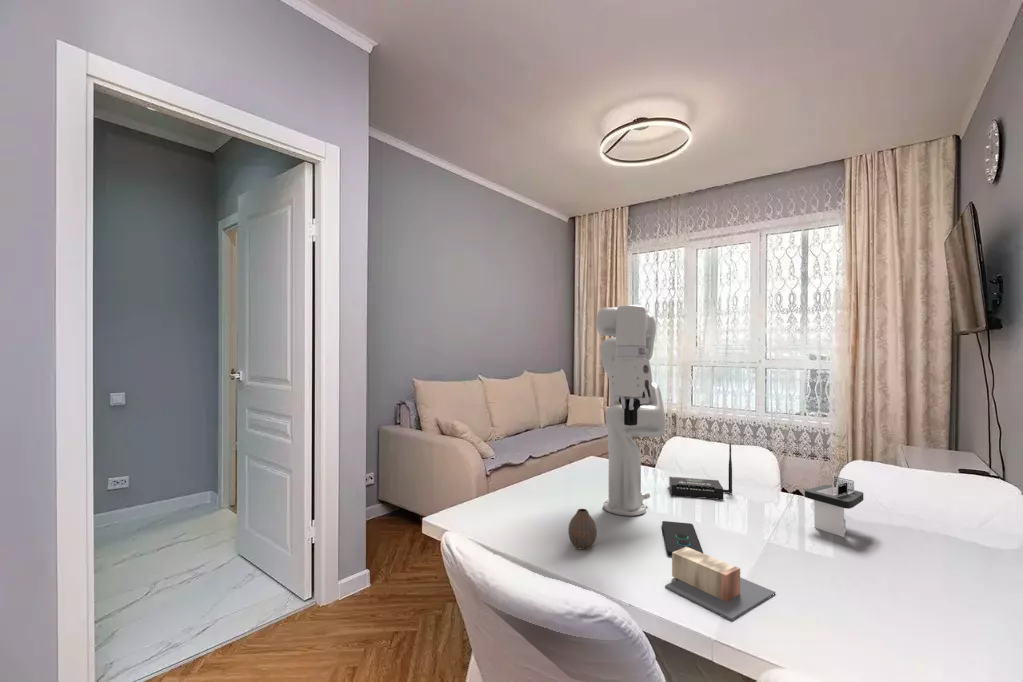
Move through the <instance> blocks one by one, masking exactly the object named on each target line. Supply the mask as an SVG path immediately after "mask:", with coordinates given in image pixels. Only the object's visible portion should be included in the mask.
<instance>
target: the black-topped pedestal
mask: <svg viewBox="0 0 1023 682" xmlns="http://www.w3.org/2000/svg"><path fill="white" fill-rule="evenodd" d="M804 498H807V499H808V500H809V499H810V500H813V502H814V504H813V505H814V507H813V508H814V509H813V513H814V514H813V515H814V518H813V519H814V523H813V524H814V528H815V529H818V530H821V531H823V532H826V533H827V532H828V533H830V534H832V535H833V534H834V535H836V536H839V537H843V538H845V536H846V535H845V534H846V526H847V525H846V519H845V510H846V509H849V510H850V509H853V508H854V507H856V506H857V505H859V504H860V503H861V502H863V501H864V492H863V491H858V490H855V480H854V479H853V480H851V479H846V478H843V477H837V476H835V475H832V484H824V485H820V486H816V487H815V486H814V487H811V488H807V489H804Z"/></svg>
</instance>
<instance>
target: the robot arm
mask: <svg viewBox="0 0 1023 682" xmlns="http://www.w3.org/2000/svg"><path fill="white" fill-rule="evenodd" d="M596 315H597V316H596V329H597V332H598V334H599V336H605V337H608V338H606V339H605V340H603V341H602V343H601V345H600V360H601V364H602V366H603V369H604V371H605V373H606V375H607V377H608V387H609V388H608V391H609V400H610V401H609V402H610V404H611V406H610V407H608V408H607V410H606V412H605V425H606V429H607V442H608V444H607V445H608V499H607V500H605V501H603V503H602V504H603V505H602V506H603V509H604V510H605V511H607V512H608V513H610V514H614V515H618V516H626V517H627V516H628V517H629V516H630V517H633V516H640V515H643V514H645V513H646V512H647V506H646V505H645V504H644V503H643V501H644V500H647V499H650V498H651V495H650V493H649V491H644V492H641V490H642V484H641V483H642V479H641V478H642V474H641V473H642V472H641V471H642V467H641V466H642V460H641V459H642V457H641V455H642V453H641V449H640V447H639V446H638V444H637V443H636V442H635V440H633V438H634V437H636V438H637V437H640V438H644V437H647V438H658V437H662V436H663V435H664V434H665V432H666V429H667V422H666V421H667V419H666V413H665V408H664V404H663V396H662V393H661V389H660V387H659V385H658V384H657V383H656V382H653V376H652V375H653V374H652V368H651V363H650V360H651V359H652V357H653V354H654V346H655V339H656V331H657V330H656V329H657V327H656V325H657V324H656V320H655V317H654V316H653V315H652V314H650V313H649V312H648V311H647V309H646V307H644V306H643V305H641V304H640V305H639V304H623V305H620V306H618V307H616V306H614V307H613V306H612V307H602V308H600V309H599V310H598V312H597V314H596Z"/></svg>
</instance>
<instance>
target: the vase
mask: <svg viewBox="0 0 1023 682" xmlns="http://www.w3.org/2000/svg"><path fill="white" fill-rule="evenodd" d="M567 529H568V531H567V533H568V538H569V541H570V543H571V544H572V545H573V546H574V547H575V548H576V549H578V548H580V549H579V550H588V548H589V549H591V548H592V546H593V545H594V544H595V542H596V540H597V537H598V536H597V533H598V532H597V531H598V529H597V525H596V522H595V521H594V519H593V517H592V516H591V515H590V513H589V511H588V510H587V508H578V509H577V510H576V513H575V514H574V515H573V516H572V518H571V520H570V521H569V523H568V528H567Z"/></svg>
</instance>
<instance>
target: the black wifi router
mask: <svg viewBox="0 0 1023 682" xmlns="http://www.w3.org/2000/svg"><path fill="white" fill-rule="evenodd" d="M728 445H729V454H728V455H729V456H728V457H729V458H728V489H727V488H724V487H723V486H722V485H721V483H720V480H718V479H707V478H692V477H691V478H690V477H678V476H677V477H676V476H669V477H668V479H669V480H668V483H669V484H668V485H669V487H668V488H669V490H670V496H674V495H675V496H676V497H686V496H691V497H690V498H698V497H706V498H705V499H709V498H718V499H717V500H721V499H723V500H724V492H725V493H727V494H730V493H732V494H733V463H732V443H729V444H728ZM675 496H674V497H675Z"/></svg>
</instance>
